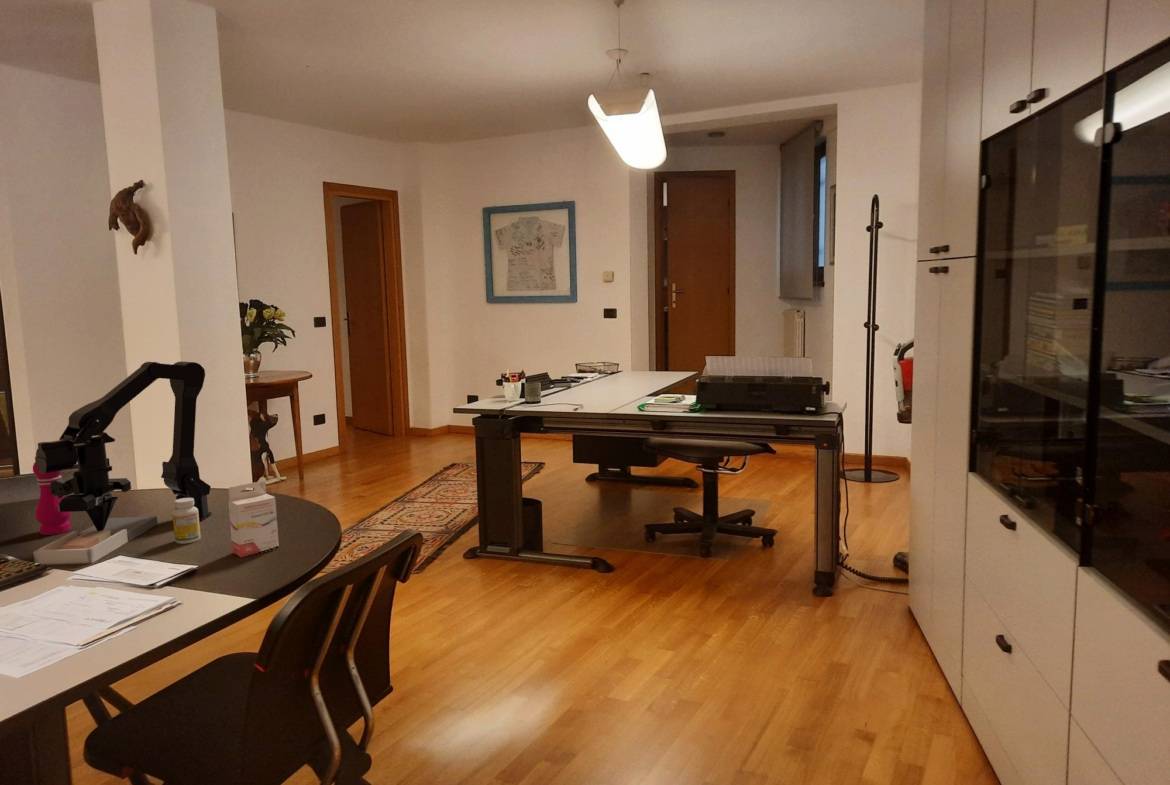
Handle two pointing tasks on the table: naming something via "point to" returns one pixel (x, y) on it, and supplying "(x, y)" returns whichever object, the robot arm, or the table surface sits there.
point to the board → (127, 525)
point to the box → (78, 550)
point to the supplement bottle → (186, 521)
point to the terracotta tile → (81, 543)
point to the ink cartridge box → (252, 519)
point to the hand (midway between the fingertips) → (100, 530)
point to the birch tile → (96, 535)
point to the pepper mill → (50, 506)
